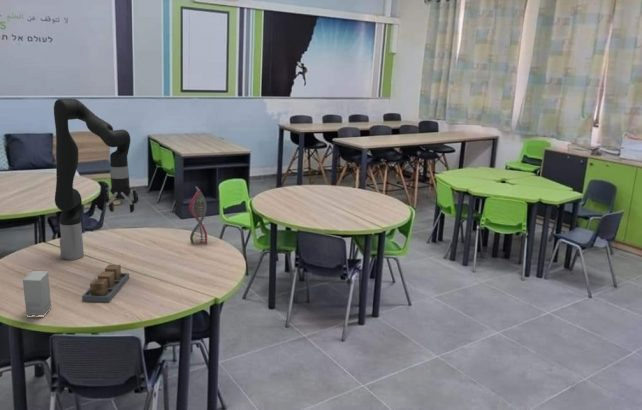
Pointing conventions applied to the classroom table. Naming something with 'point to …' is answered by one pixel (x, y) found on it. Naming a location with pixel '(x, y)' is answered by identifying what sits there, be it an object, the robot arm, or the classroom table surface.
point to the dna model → (198, 217)
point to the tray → (110, 291)
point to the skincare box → (37, 293)
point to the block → (99, 287)
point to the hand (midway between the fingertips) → (121, 211)
